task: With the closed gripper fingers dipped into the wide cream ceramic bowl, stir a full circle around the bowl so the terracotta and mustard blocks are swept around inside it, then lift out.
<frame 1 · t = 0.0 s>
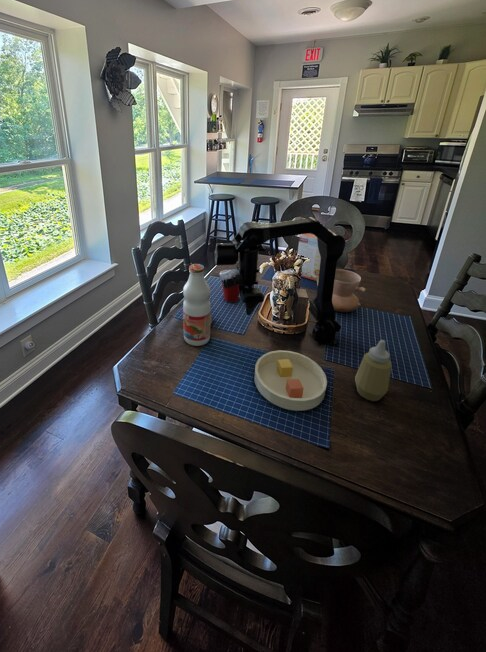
hand: (245, 306, 105), 15 cm above the table, tool pointing down, fingers open, 9 cm apart
squeeze bottle: (368, 393, 90), on the table
ceramic jug: (336, 306, 132), on the table
plastic cup: (231, 298, 138), on the table
mustard block: (284, 372, 97), resting on bowl
bowl: (288, 383, 94), on the table
fruit juice: (196, 338, 114), on the table
terracotta block: (293, 393, 90), resting on bowl
cracker box: (310, 277, 156), on the table
bread roll: (200, 321, 123), on the table
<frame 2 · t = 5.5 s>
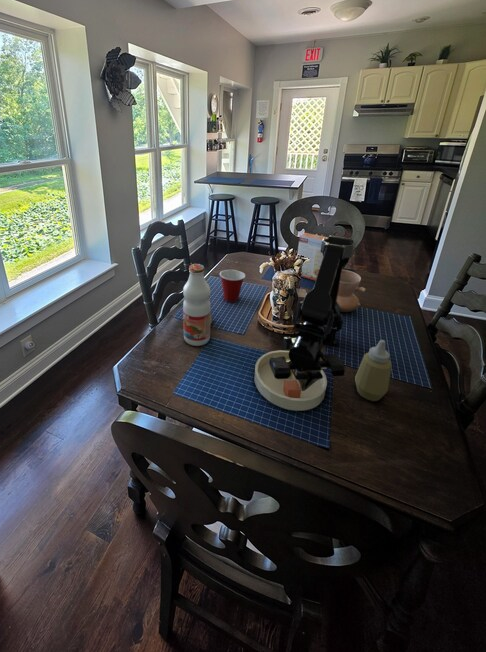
hand: (302, 389, 89), 2 cm above the table, tool pointing down, fingers closed
terracotta block: (291, 394, 89), point 1 cm above the table, touching gripper
everything else where it was.
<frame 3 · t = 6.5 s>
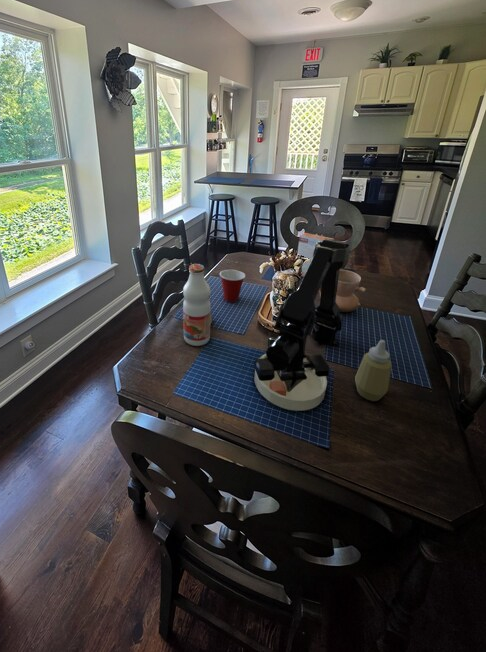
hand: (288, 390, 89), 2 cm above the table, tool pointing down, fingers closed
terracotta block: (277, 395, 89), point 1 cm above the table, touching gripper
everything else where it was.
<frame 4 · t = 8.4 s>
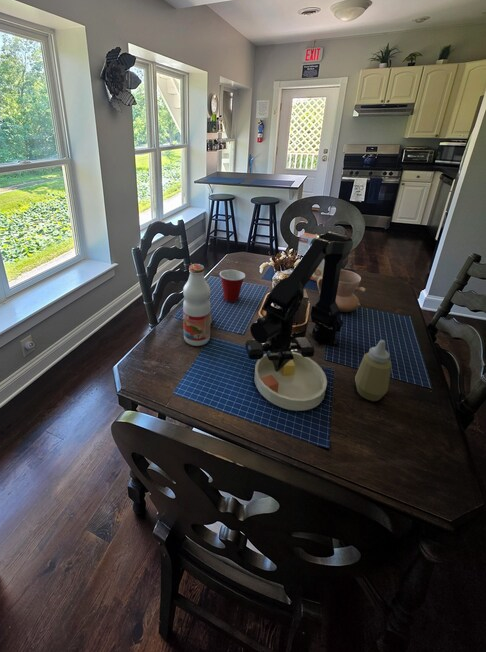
hand: (276, 370, 96), 1 cm above the table, tool pointing down, fingers closed
mustard block: (286, 371, 98), point 1 cm above the table, touching gripper
terracotta block: (268, 390, 91), point 1 cm above the table, touching bowl
everything else where it was.
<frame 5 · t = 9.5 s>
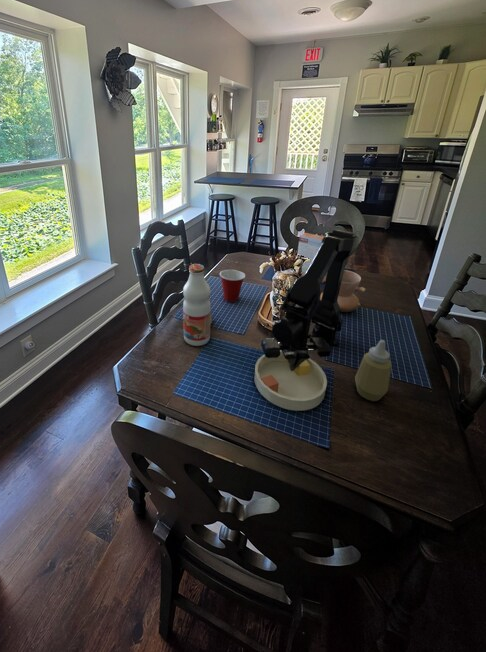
hand: (291, 370, 96), 2 cm above the table, tool pointing down, fingers closed
mustard block: (300, 370, 97), point 1 cm above the table, touching bowl, gripper
everything else where it was.
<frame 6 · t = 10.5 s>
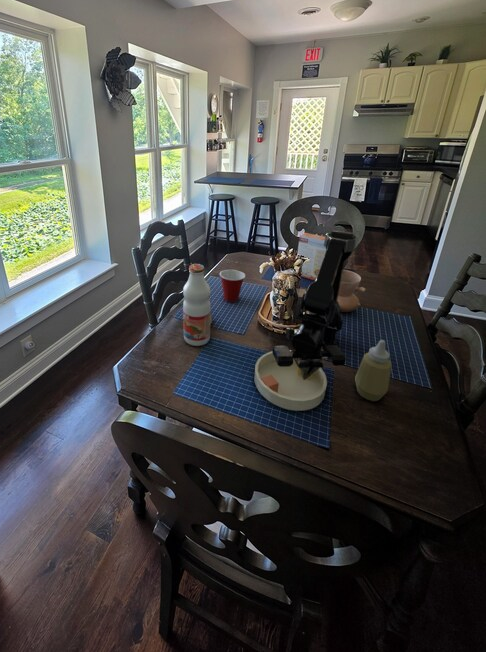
hand: (303, 378, 93), 2 cm above the table, tool pointing down, fingers closed
mustard block: (305, 374, 96), point 1 cm above the table, touching bowl, gripper
everything else where it was.
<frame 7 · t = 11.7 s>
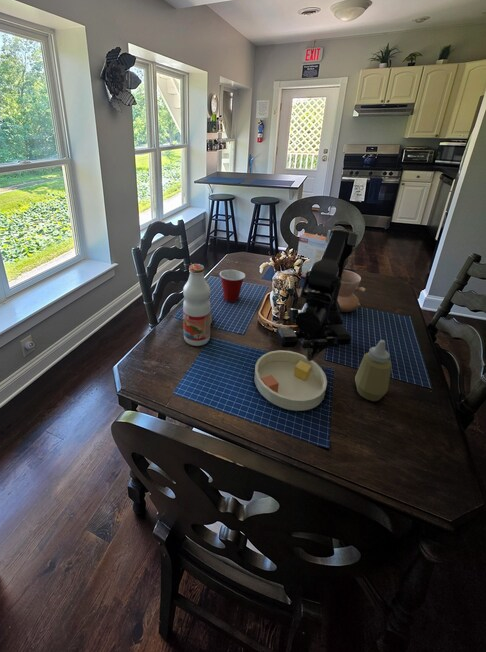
hand: (308, 360, 91), 8 cm above the table, tool pointing down, fingers closed
mustard block: (301, 375, 96), point 1 cm above the table, touching bowl
everything else where it was.
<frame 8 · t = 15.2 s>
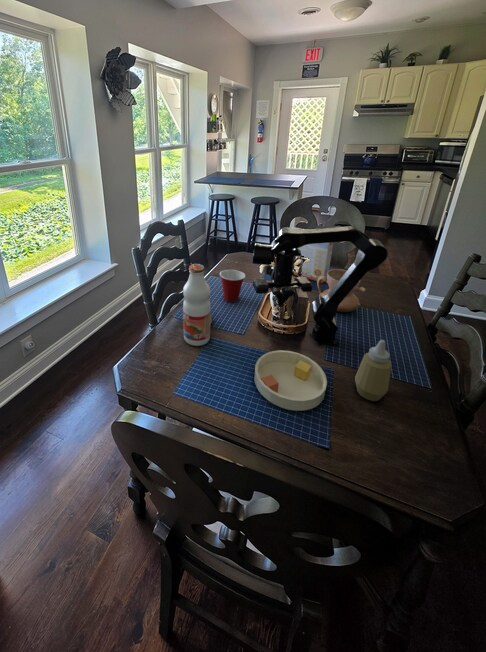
hand: (279, 306, 111), 11 cm above the table, tool pointing down, fingers closed
nothing on the table moved.
at the end: terracotta block moved 6.8 cm from its start; terracotta block inside the target area in the bowl (7.0 cm from its centre), point 0.5 cm above the bowl's base; mustard block inside the target area in the bowl (5.5 cm from its centre), point 0.5 cm above the bowl's base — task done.
